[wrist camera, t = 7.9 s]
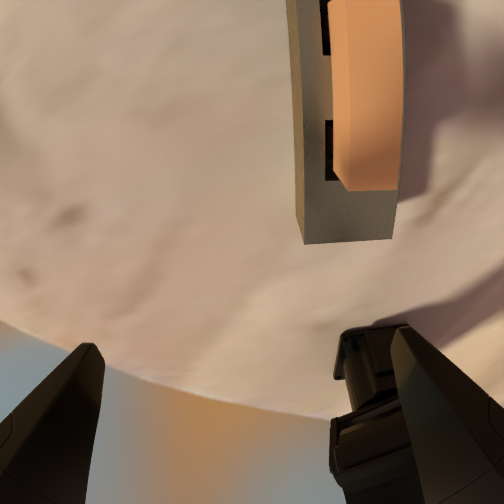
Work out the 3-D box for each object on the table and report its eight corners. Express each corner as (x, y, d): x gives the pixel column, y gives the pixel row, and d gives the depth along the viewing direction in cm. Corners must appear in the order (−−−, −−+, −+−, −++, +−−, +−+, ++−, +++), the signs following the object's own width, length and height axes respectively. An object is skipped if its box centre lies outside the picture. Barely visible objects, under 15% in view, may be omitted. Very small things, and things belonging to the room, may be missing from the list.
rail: (372, 211, 20) (391, 238, 17) (295, 215, 20) (304, 244, 17) (371, -41, 11) (395, -57, 8) (281, -49, 11) (288, -71, 8)
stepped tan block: (357, 151, 17) (396, 189, 13) (320, 152, 17) (348, 191, 13) (354, 14, 13) (399, -1, 8) (314, 12, 13) (343, -8, 8)
